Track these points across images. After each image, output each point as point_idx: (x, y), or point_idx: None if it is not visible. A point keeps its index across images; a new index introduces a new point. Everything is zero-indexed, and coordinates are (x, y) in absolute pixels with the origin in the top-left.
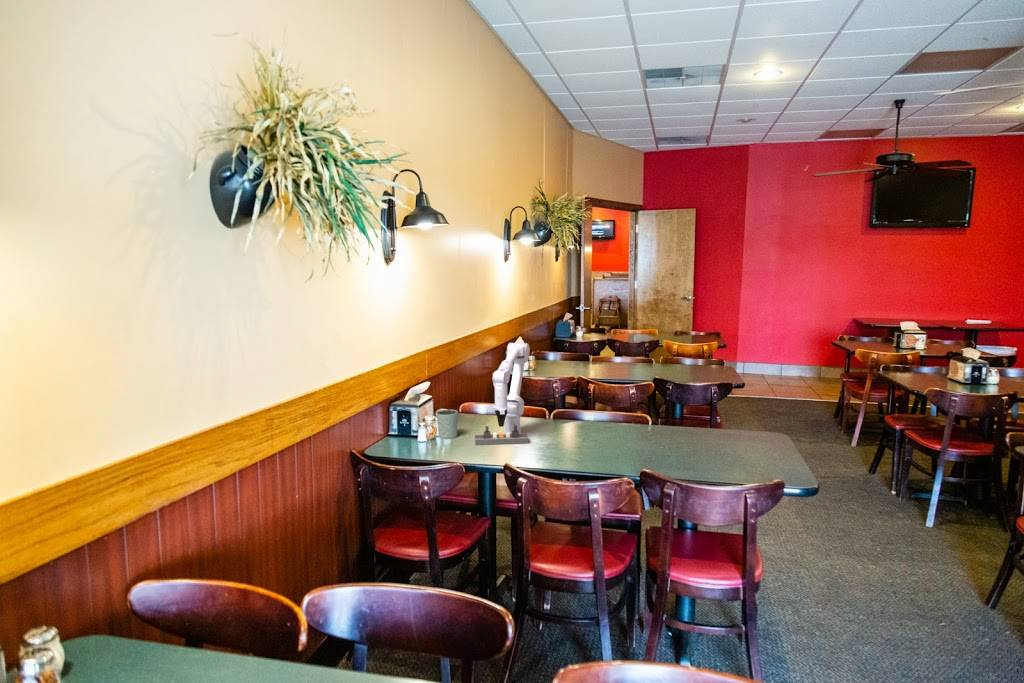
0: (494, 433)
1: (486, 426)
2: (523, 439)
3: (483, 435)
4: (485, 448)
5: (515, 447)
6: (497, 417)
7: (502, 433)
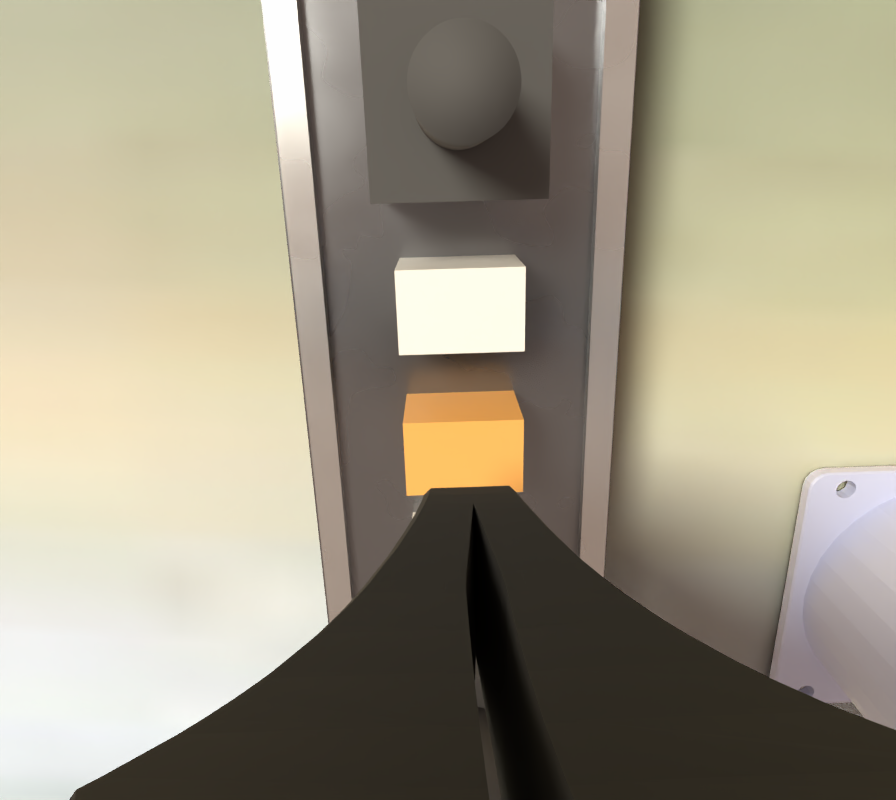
0: (441, 306)
1: (478, 63)
2: None
3: (603, 23)
4: (62, 78)
5: (169, 580)
6: (281, 666)
7: (425, 482)
